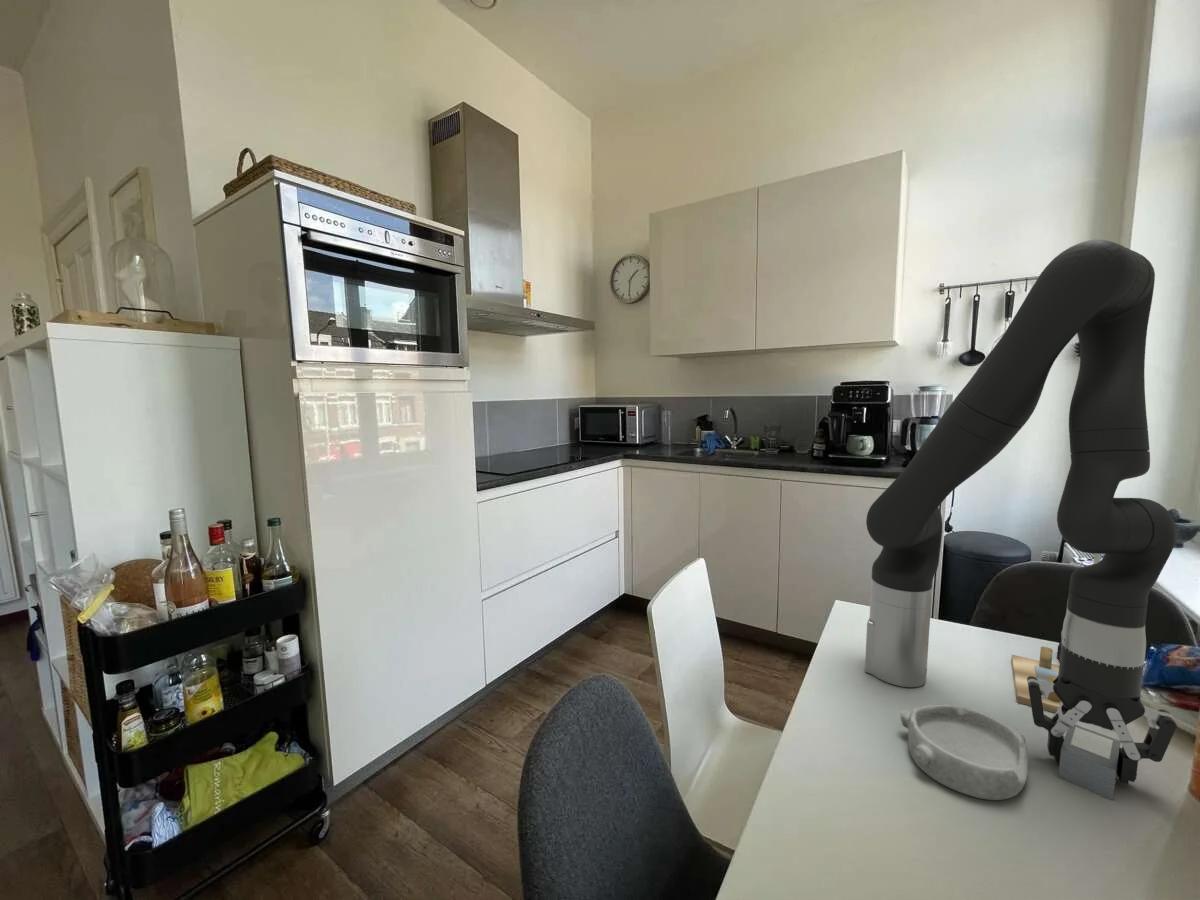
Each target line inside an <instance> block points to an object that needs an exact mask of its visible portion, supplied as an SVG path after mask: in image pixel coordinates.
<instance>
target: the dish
mask: <svg viewBox="0 0 1200 900" xmlns="http://www.w3.org/2000/svg"><path fill="white" fill-rule="evenodd" d="M900 722H901V725H902V726H903V727H904V728H906V729H907V731H908V732H907V733H908V734H907V735H908V736H907V743H908V750H909V753H910V755H911V758H912V759H913V761H914V763H915V764H916V765H917V766H918V767H919V768H920V769H921V770H922V771H923V772H924V773H925V774H926V775H928V776H929V777H930V778H931V779H933V780H934V781H937V782H938V783H940V785H943V786H945V787H947V788H948V789H952V790H953V791H956V792H958V793H961V794H965V795H966V796H969V797H972V798H978V799H983V800H989V801H1001V800H1002V801H1003V800H1007V799H1010V798H1013V797H1015V796H1016V795H1018V794H1019V793H1020V792H1021V791H1022V789H1023V788H1024V786H1025V785H1026V782H1027V778H1028V772H1029V771H1028V770H1029V769H1028V768H1029V765H1028V764H1029V762H1028V750H1027V746H1026V742H1027V741H1026V738H1025V737H1024V735H1023V733H1022V732H1021V731H1019V730H1018V729H1015V728H1012V727H1010V726H1009V725H1008V724H1006V723H1004V722H1002V721H1001V720H998V719H997V718H995V717H993V716H990V715H988V714H986V713H983V712H981V711H978V710H975V709H973V708H969V707H960V706H957V705H954V704H931V705H930V704H929V705H924V706H923V705H922V706H919V707H916V708H914V709H912V711H911V712H909V711H908V710H902V711H901V712H900Z"/></svg>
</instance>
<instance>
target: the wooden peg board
mask: <svg viewBox="0 0 1200 900" xmlns="http://www.w3.org/2000/svg"><path fill="white" fill-rule="evenodd" d="M1039 651H1040V654H1039V660H1037V659H1033V658H1028V657H1024V656H1020V655H1016V654H1011V661H1010V662H1011V667H1012V674H1013V675H1012V676H1013V682H1014V683H1013V684H1014V688H1015V696H1016V698H1015V699H1016V703H1018V704H1021V705H1024V706H1027V707H1031V702H1030V696H1029V689H1028V683H1027V678H1028V677H1029V676H1033V677H1035V678H1037V679H1038V681H1046V682H1053V681H1054V680H1055V679H1056V678H1057V677H1058V674H1059V664H1054V663H1053V662H1052V661H1053V652H1054V651H1053V649H1052V648H1050V647H1048V646H1041V647H1040V650H1039ZM1061 704H1062V702H1061V700H1060V699H1059V698H1058V696H1057V695H1056V694H1055V692H1050V693H1049V696H1048V698H1046V699H1043V698H1042V705H1043V711H1046V712H1050V713H1053V714H1055V713H1056V712H1057V709H1058V707H1059V706H1060V705H1061ZM1112 731H1115V729H1112Z"/></svg>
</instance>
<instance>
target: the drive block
mask: <svg viewBox="0 0 1200 900" xmlns="http://www.w3.org/2000/svg"><path fill="white" fill-rule="evenodd" d="M1064 735H1065V736H1064V741H1063V745H1062V748H1061V755H1060V763H1059V766H1058V776H1057V777H1058V779H1062V780H1065V781H1067V782H1069V783H1071V784H1074V785H1075V786H1079V787H1080V788H1083V789H1085V790H1087V791H1090V792H1092V793H1093V794H1097V795H1099V796H1102V797H1103V798H1106V799H1108V800H1111V801H1114V795H1115V788H1116V783H1117V778H1118V776H1117V767H1118V758H1119V748H1121V745H1122V744H1121V742H1120V740H1119V739H1116V738H1114V737H1110V736H1108V735H1105V734H1102V733H1099V732H1096V731H1094V730H1091V729H1088V728H1086V727H1083V726H1080V725H1079V724H1078V725H1077V724H1075V725H1074V726H1073V727H1072V728H1071V727H1070V728H1069V729H1068V730H1067V731H1066V732H1065V734H1064Z"/></svg>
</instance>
